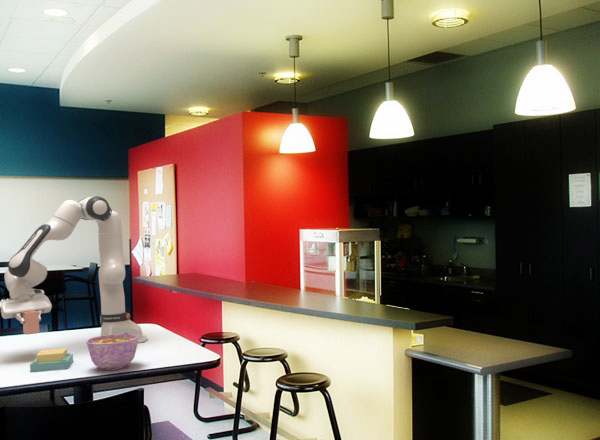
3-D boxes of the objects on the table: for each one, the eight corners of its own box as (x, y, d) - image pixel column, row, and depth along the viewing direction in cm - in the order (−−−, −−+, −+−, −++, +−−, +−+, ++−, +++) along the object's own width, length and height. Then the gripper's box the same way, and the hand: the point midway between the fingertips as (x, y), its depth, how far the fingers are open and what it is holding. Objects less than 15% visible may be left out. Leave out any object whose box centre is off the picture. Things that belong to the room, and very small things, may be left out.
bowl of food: (100, 361, 249) (99, 334, 249) (147, 361, 247) (145, 333, 247) (77, 374, 229) (76, 344, 229) (128, 373, 227) (127, 343, 227)
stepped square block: (73, 361, 253) (72, 346, 253) (67, 368, 239) (67, 353, 239) (37, 364, 250) (37, 349, 250) (30, 372, 236) (29, 356, 236)
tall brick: (35, 331, 260) (34, 309, 260) (39, 332, 256) (38, 310, 256) (23, 333, 257) (22, 311, 257) (27, 334, 253) (26, 312, 253)
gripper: (-2, 295, 254) (6, 320, 247) (47, 289, 268) (56, 313, 261) (-5, 305, 258) (4, 330, 251) (44, 298, 272) (53, 322, 265)
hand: (31, 321), depth 256 cm, fingers closed on tall brick, 5 cm apart
